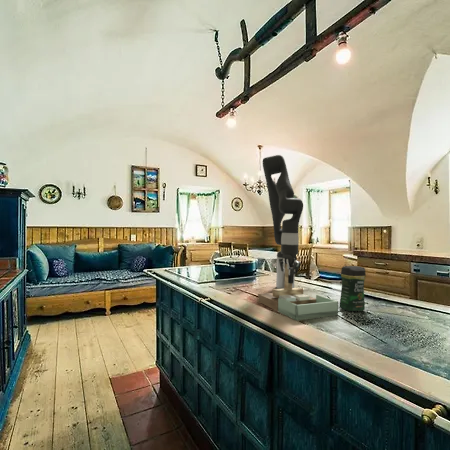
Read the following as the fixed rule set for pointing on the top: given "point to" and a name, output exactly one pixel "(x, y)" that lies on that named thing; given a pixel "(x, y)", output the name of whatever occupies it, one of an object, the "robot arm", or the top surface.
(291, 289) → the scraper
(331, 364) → the top surface
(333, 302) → the box
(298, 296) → the cream tile
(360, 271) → the coffee jar
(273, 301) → the walnut plate
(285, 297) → the grey tile
